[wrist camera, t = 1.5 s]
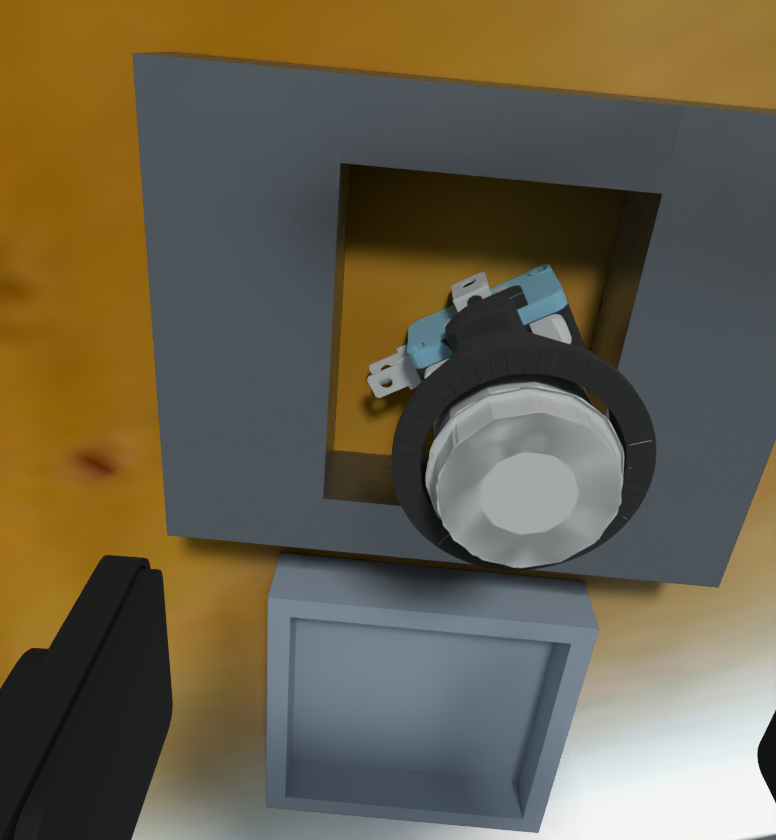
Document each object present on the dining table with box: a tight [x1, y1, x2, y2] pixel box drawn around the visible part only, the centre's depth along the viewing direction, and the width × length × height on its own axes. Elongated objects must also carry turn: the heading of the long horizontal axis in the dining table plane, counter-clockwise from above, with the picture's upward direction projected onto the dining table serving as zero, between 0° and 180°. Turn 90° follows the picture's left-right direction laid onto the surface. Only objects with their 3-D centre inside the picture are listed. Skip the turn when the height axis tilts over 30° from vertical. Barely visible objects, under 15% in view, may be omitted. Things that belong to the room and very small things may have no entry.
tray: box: [266, 553, 599, 833], centre depth 29 cm, size 12×12×2 cm
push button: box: [367, 264, 657, 570], centre depth 18 cm, size 7×5×10 cm
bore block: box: [132, 52, 776, 587], centre depth 21 cm, size 18×14×3 cm
